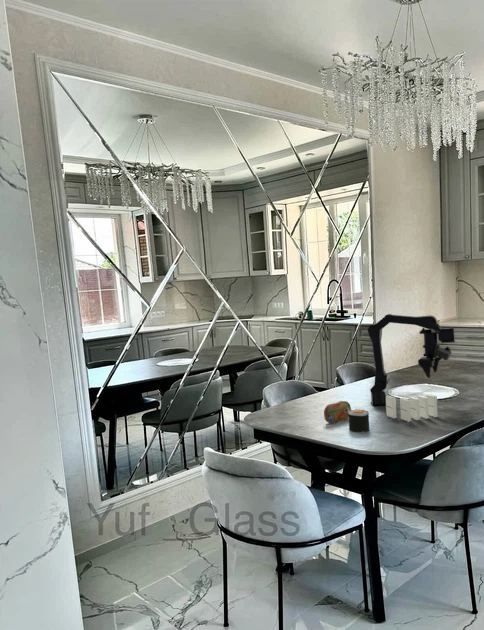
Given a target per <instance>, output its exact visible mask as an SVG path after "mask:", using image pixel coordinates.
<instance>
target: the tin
mask: <svg viewBox="0 0 484 630" xmlns="http://www.w3.org/2000/svg"><path fill="white" fill-rule="evenodd" d="M351 410H352V406H351V404H350V403H349V402H348V401H347V400H344V401H343V400H340V401H337V402H333V403H329V404H327V405H326V406H325V408H324V410H323V417H324V420H325V421H326V422H327V423H329V424H332V425H334V424H335V425H336V424H338V423H341V422H344V421H347V420H349V415H348V411H351Z"/></svg>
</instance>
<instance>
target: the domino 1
mask: <svg viewBox="0 0 484 630" xmlns="http://www.w3.org/2000/svg"><path fill="white" fill-rule="evenodd" d="M396 399H397V398H396V397H394V396H391V395H386V406H385V410H386V411H385V412H386V416H387V417H388V418H390V419H397V403H396V401H397V400H396Z"/></svg>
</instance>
